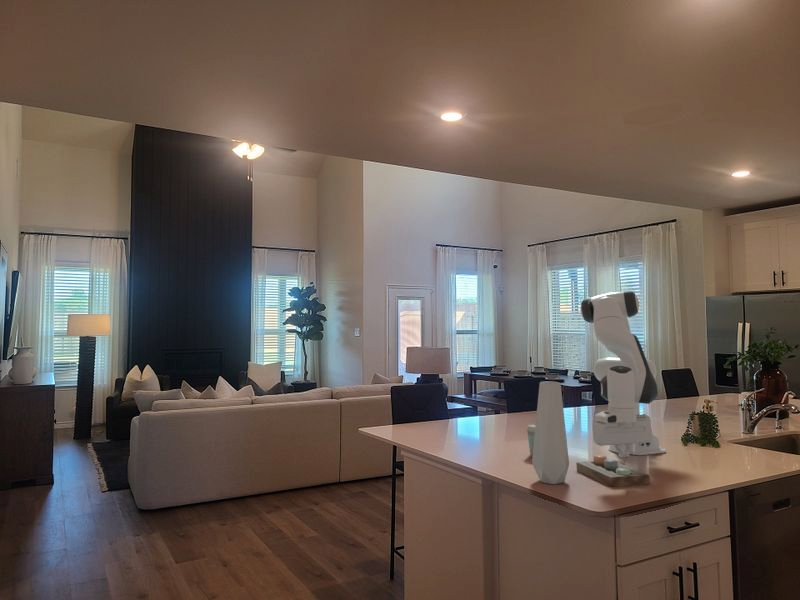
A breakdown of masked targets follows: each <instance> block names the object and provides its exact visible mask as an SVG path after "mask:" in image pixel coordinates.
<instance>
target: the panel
mask: <svg viewBox="0 0 800 600" xmlns="http://www.w3.org/2000/svg"><path fill="white" fill-rule="evenodd" d="M618 468H626V469H629V470H630V475H619V474H616V470H607V469H605V468H604V465H595V464H594V460H590V461H589V460H588V461H576V471H577V472H579V473H581V474H583V475H586V476H588V477H589V476H590V478H591V479H594V480H596V481H598V482H601V483H602V484H605V485H607V486H608V487H610V488H611V487H612V488H613V487H614V488H615V487H626V486H629V487H630V486H643V485H645V486H646V485H650V484H651V481H650V480H651V477H650V473H649V474H648V473H646V472H643V471H641V470H638V469H635V468H633V467H630V466H627V465H625V464H622V463H620V462H618Z"/></svg>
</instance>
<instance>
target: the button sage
mask: <svg viewBox="0 0 800 600" xmlns="http://www.w3.org/2000/svg"><path fill="white" fill-rule="evenodd" d="M616 474H619V475H630V470H629V469H626V468H617V469H616Z"/></svg>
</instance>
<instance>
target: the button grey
mask: <svg viewBox="0 0 800 600" xmlns="http://www.w3.org/2000/svg"><path fill="white" fill-rule="evenodd" d="M618 463H619V461H618V460H616V459H608V458H607V459H606V460H604V468H605V469H607V470H616V469H617V468H618Z"/></svg>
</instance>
